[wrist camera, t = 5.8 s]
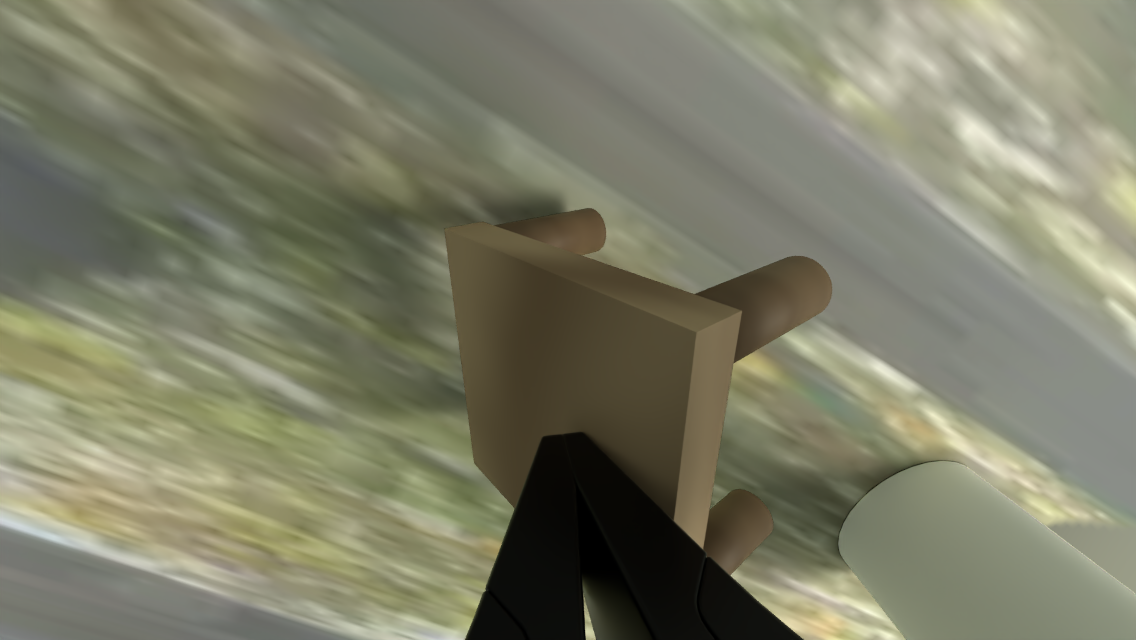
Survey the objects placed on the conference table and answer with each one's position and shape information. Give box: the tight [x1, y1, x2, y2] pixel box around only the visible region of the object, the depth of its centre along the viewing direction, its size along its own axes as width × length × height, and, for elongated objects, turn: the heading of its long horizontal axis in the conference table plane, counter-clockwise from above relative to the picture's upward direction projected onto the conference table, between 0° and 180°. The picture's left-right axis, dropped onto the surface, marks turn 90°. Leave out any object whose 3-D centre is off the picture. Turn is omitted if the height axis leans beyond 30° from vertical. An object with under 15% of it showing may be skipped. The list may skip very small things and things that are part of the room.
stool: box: [444, 208, 832, 575], centre depth 11 cm, size 7×7×4 cm
